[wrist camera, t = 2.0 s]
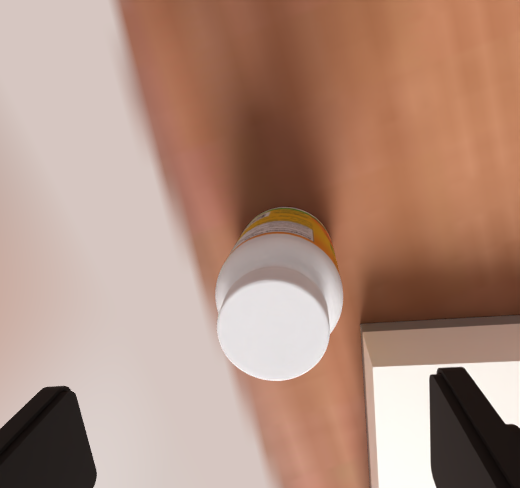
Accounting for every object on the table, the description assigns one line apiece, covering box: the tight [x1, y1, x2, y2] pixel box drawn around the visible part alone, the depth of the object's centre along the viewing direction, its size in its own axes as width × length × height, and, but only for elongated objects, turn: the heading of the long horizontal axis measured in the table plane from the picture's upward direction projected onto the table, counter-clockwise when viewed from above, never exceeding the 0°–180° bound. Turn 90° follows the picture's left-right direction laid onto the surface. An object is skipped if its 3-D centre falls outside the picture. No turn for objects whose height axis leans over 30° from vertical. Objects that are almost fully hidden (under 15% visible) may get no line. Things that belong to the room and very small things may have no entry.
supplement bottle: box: [215, 207, 343, 381], centre depth 18 cm, size 5×5×10 cm
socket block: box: [360, 315, 520, 488], centre depth 22 cm, size 16×16×4 cm
